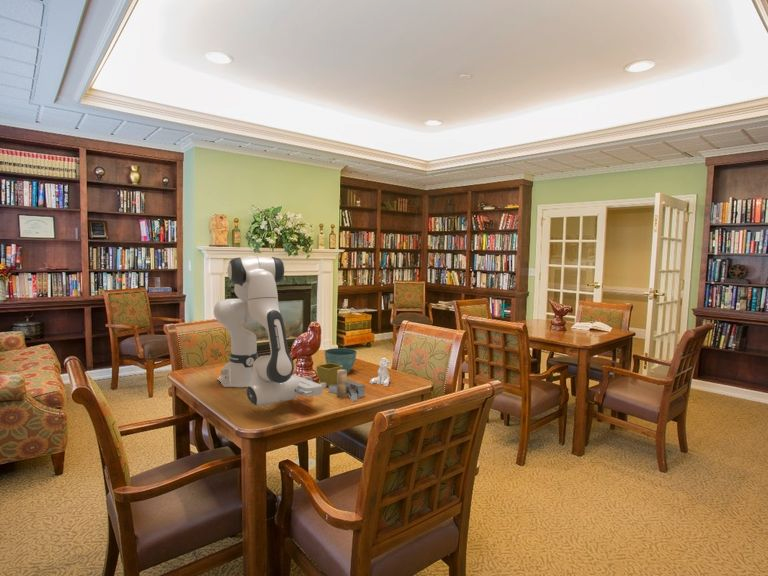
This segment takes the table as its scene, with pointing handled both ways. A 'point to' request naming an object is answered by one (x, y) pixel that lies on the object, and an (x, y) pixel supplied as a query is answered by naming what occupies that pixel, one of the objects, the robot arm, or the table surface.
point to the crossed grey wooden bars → (351, 390)
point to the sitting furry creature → (382, 373)
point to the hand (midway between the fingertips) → (318, 381)
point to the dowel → (341, 383)
